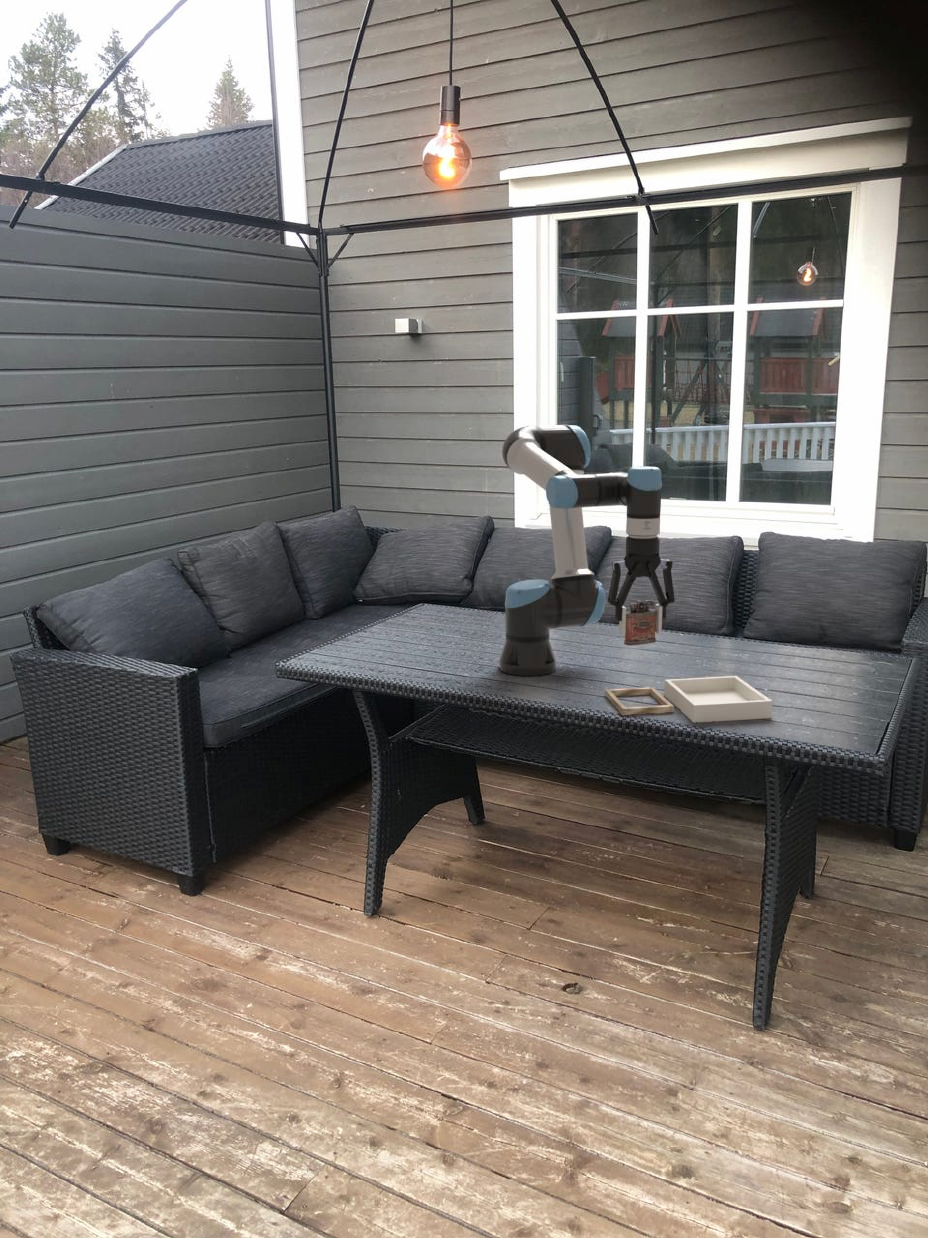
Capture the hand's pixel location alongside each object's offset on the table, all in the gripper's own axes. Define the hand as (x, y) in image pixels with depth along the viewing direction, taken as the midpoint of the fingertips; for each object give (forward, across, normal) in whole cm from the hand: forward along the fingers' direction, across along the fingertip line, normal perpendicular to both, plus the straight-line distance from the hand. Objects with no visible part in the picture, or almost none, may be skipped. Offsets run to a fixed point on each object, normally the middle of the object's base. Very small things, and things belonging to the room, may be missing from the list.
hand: (640, 633), depth 224 cm
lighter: (+2, 0, 0) cm, 2 cm away
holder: (+17, 0, 0) cm, 17 cm away
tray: (+17, +17, -5) cm, 25 cm away
